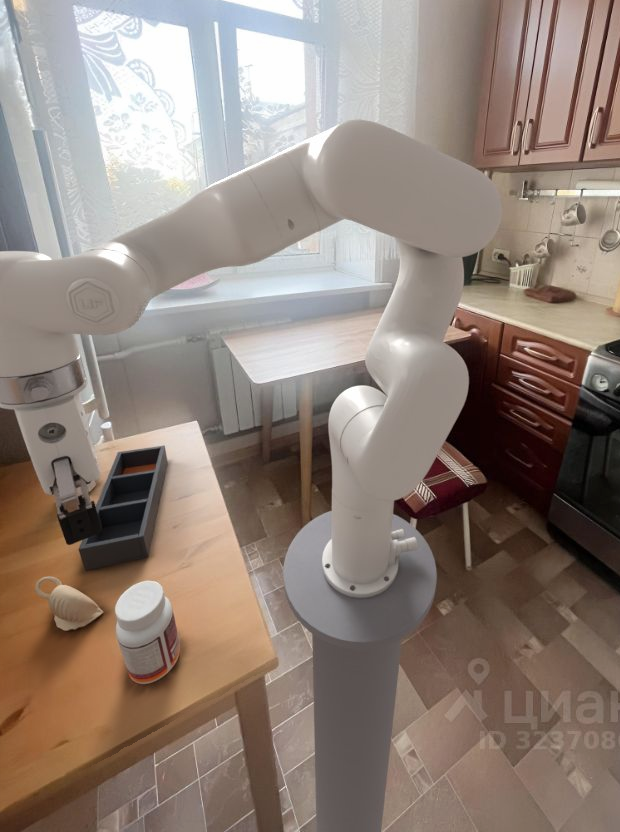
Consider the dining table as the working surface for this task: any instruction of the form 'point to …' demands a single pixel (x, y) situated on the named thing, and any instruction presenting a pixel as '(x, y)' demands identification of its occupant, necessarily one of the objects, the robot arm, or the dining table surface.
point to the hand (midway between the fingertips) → (80, 509)
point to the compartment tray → (127, 508)
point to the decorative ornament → (69, 605)
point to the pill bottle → (146, 632)
